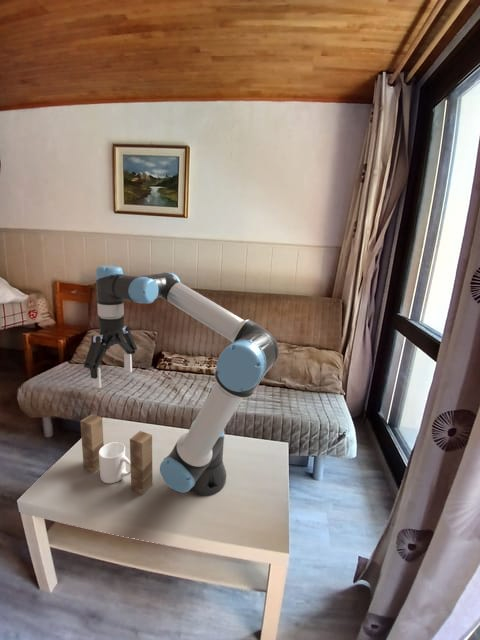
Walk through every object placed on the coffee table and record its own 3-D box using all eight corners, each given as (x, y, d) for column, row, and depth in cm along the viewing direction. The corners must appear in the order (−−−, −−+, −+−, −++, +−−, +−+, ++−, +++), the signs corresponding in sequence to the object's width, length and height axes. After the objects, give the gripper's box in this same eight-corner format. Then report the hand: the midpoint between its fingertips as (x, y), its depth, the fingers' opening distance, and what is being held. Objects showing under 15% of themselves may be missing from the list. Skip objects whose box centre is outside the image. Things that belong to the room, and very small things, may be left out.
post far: (104, 464, 116) (102, 417, 111) (94, 473, 112) (90, 424, 107) (94, 460, 118) (91, 414, 113) (83, 468, 113) (80, 420, 108)
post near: (152, 484, 108) (152, 434, 103) (143, 494, 104) (142, 443, 99) (140, 479, 110) (140, 430, 105) (131, 489, 105) (129, 438, 101)
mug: (123, 489, 105) (123, 463, 103) (94, 480, 108) (93, 454, 106) (138, 472, 113) (138, 447, 111) (111, 464, 116) (110, 439, 114)
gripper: (129, 307, 109) (131, 363, 114) (67, 322, 86) (72, 391, 91) (146, 310, 106) (147, 367, 111) (86, 327, 83) (91, 397, 89)
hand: (113, 378), depth 101 cm, fingers open, 13 cm apart
